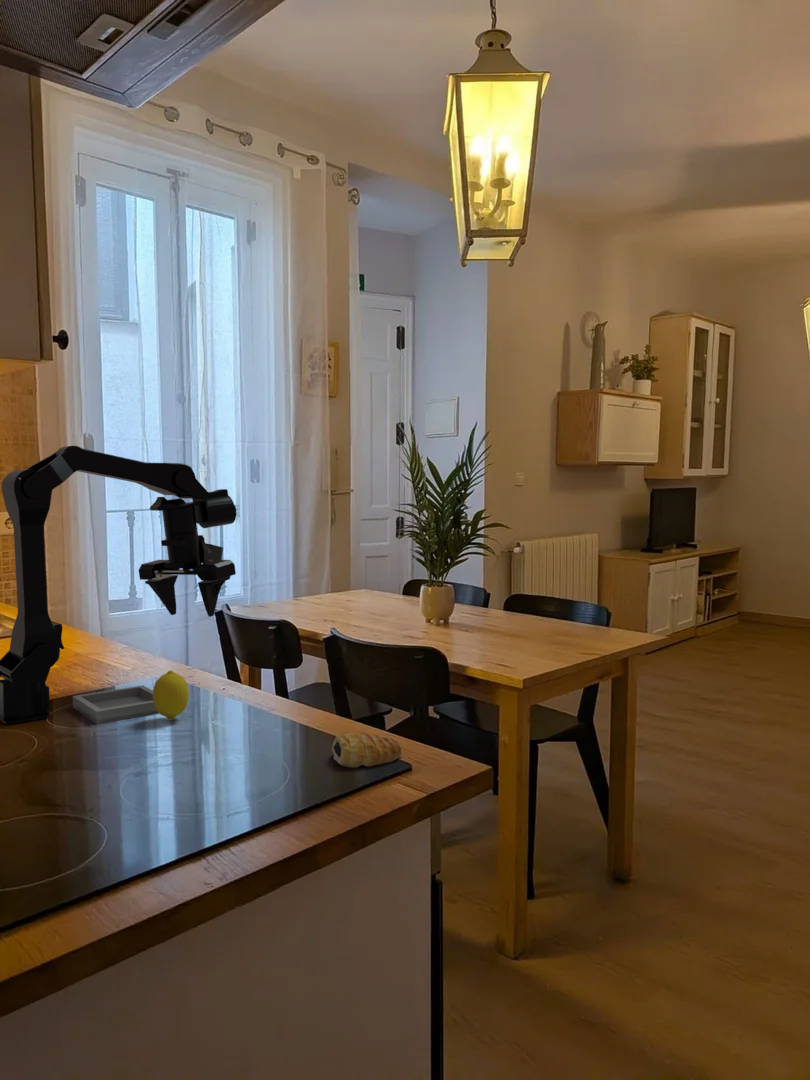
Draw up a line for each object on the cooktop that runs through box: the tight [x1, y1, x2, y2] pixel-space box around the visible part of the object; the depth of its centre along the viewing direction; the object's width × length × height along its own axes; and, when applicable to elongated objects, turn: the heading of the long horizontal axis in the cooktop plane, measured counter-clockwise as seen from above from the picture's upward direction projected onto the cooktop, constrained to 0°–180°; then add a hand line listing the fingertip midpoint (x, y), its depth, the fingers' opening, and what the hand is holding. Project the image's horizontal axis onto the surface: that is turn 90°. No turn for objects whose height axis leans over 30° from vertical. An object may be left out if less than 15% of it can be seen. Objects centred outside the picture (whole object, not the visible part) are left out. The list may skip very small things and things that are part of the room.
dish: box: [72, 685, 159, 725], centre depth 130 cm, size 12×12×2 cm
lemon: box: [152, 670, 190, 721], centre depth 124 cm, size 6×6×8 cm
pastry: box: [331, 731, 402, 768], centre depth 107 cm, size 9×7×4 cm
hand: (192, 615), depth 144 cm, fingers open, 9 cm apart
